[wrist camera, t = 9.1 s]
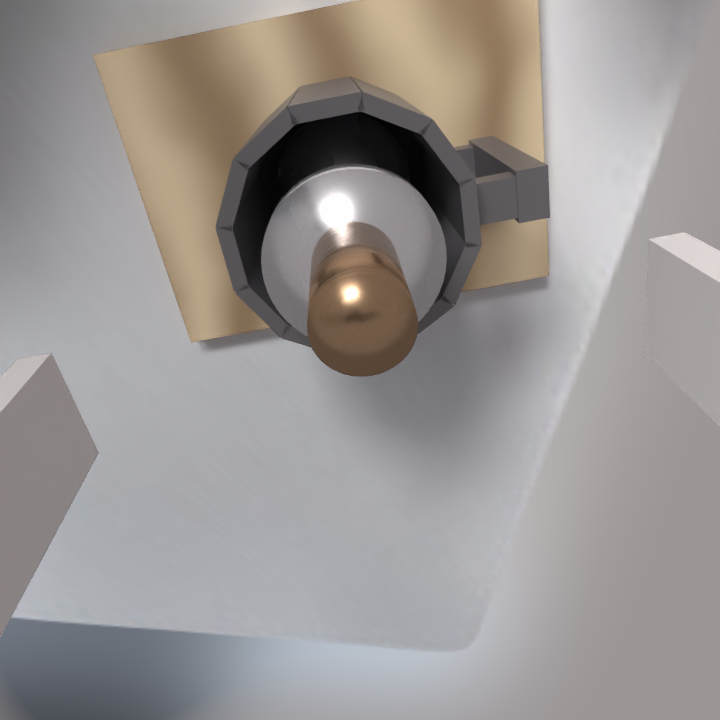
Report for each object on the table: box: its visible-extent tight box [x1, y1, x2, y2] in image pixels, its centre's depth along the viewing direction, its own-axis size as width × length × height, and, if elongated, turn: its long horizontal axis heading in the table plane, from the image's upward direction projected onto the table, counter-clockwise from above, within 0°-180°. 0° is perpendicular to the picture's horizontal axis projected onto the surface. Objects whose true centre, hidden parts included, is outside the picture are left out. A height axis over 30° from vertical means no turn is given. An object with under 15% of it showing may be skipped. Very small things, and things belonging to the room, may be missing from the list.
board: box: [93, 0, 549, 342], centre depth 34 cm, size 22×16×1 cm
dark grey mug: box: [215, 76, 550, 347], centre depth 28 cm, size 12×10×12 cm
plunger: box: [261, 113, 447, 376], centre depth 24 cm, size 7×7×19 cm
